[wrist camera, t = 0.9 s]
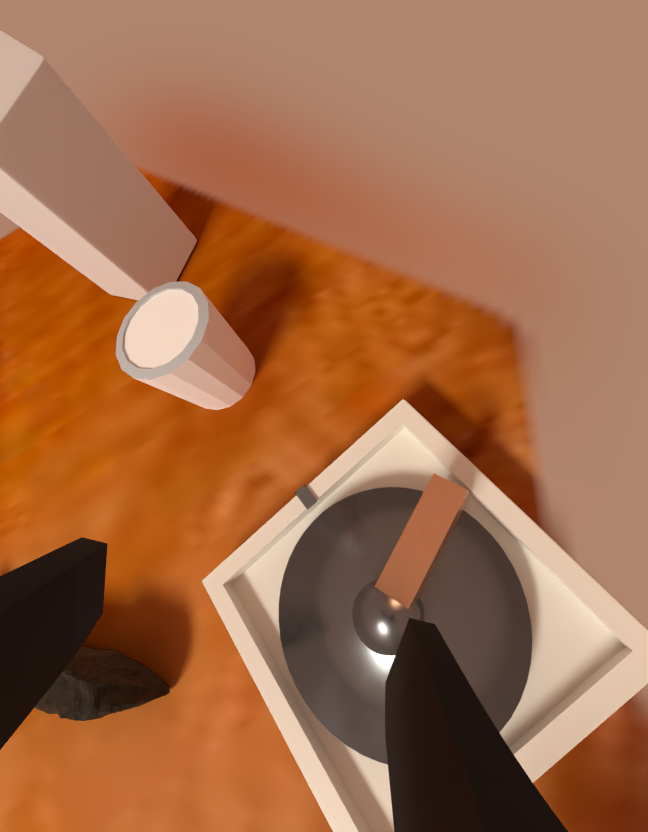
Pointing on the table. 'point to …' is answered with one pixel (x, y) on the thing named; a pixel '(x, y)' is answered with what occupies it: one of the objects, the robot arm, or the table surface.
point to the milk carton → (80, 184)
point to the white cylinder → (185, 347)
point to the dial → (399, 606)
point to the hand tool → (100, 686)
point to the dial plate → (542, 584)
